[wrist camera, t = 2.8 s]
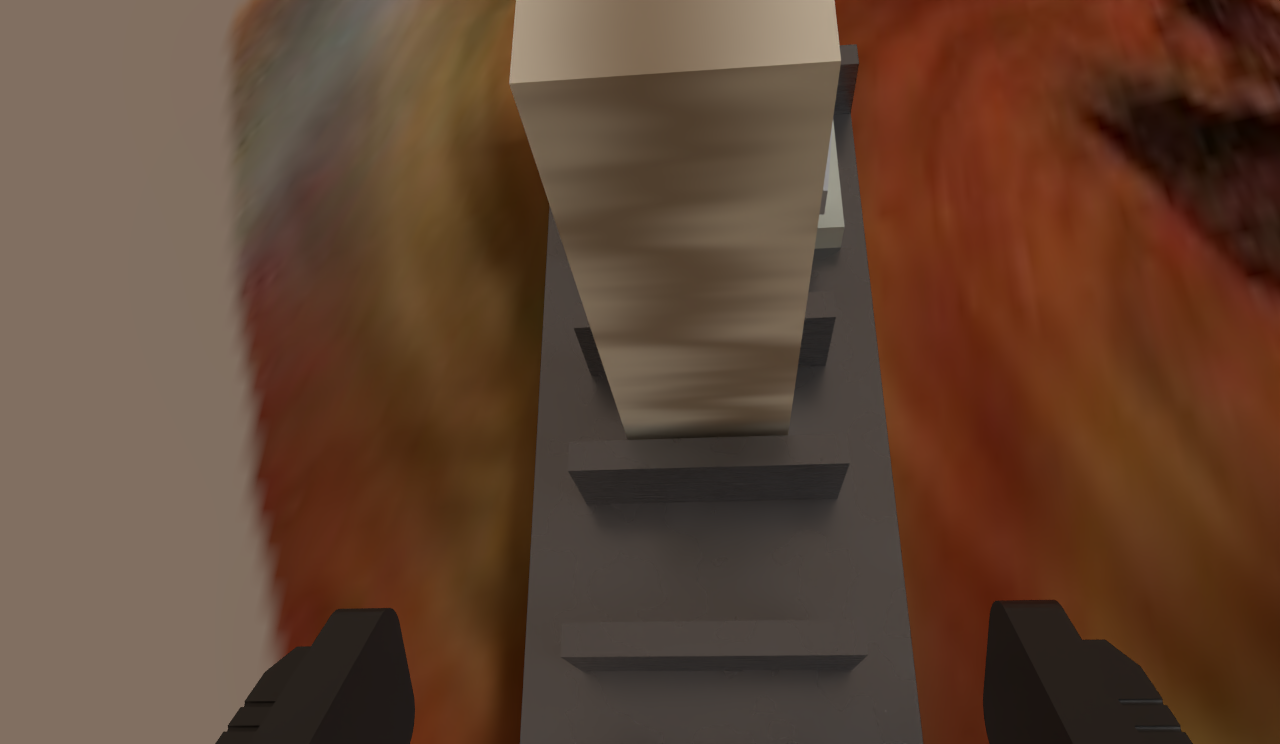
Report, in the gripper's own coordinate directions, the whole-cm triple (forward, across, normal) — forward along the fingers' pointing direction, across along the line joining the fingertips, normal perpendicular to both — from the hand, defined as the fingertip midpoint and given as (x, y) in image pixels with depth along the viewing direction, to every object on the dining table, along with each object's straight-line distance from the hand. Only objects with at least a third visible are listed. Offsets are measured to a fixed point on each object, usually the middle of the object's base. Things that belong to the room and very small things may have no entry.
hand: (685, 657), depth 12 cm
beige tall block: (+21, 0, +6) cm, 22 cm away
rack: (+22, 0, +7) cm, 23 cm away
